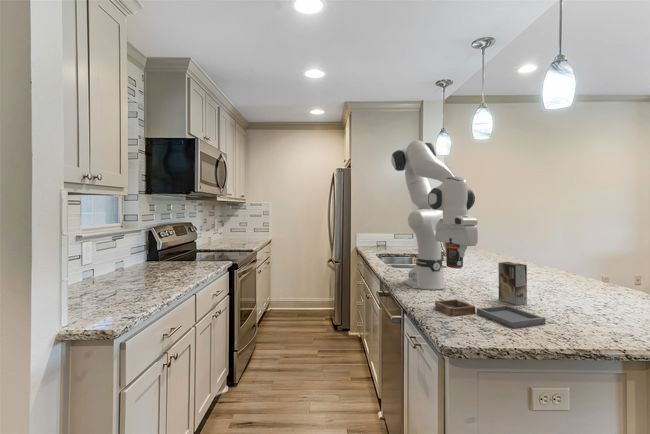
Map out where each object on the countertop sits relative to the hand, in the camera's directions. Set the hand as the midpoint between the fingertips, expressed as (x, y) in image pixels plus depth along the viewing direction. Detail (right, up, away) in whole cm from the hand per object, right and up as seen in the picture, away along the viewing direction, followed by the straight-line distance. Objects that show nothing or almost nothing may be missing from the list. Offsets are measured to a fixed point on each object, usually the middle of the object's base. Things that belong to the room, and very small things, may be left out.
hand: (454, 255), depth 127 cm
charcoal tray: (+16, -21, -10) cm, 28 cm away
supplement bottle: (0, -5, 0) cm, 5 cm away
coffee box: (+29, -21, +12) cm, 38 cm away
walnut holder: (0, -21, 0) cm, 21 cm away
